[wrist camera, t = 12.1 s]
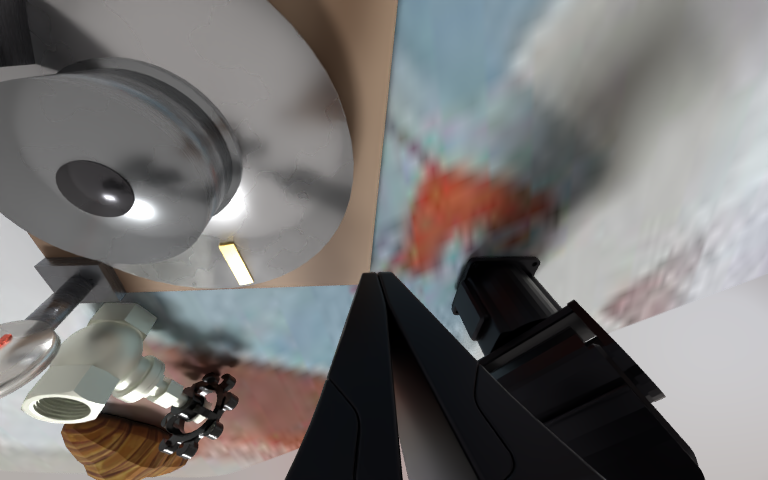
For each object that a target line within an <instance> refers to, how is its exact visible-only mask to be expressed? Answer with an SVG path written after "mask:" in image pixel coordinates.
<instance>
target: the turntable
mask: <svg viewBox="0 0 768 480" xmlns="http://www.w3.org/2000/svg"><path fill="white" fill-rule="evenodd" d="M108 57H120V58H130V59H135V60H140V61H144V62H147V63H150V64H153V65H156V66H159V67H161V68H164V69H166V70H168V71H170V72H172V73H174V74H176V75H178V76H179V77H181V78H183V79H185V80H186V81H187V82H189V83H190V84H192V85H193V86H194V87H196V88H197V89H198V90H200V91H201V92H202V93H203V94H204V95H205V96H207V97H208V98H209V99H210V100H211V101H212V102H213V104H214V105H215V106H216V107H217V108H218V109H219V110H220V112H221V113H222V114H223V115H224V117H225V118H226V120H227V121H228V123H229V124H230V126H231V128H232V129H233V131H234V133H235V136H236V138H237V140H238V143H239V146H240V149H241V154H242V160H243V173H242V179H241V183H240V186H239V188H238V190H237V192H236V194H235V196H234V197H233V199H232V200H231V202H230V203H229V204H228V205H227V206H226V207H225V208H224V210H222V211H221V212H220V213H218V214H217V215H215V216H213V217H212V218H211V220H210V221H209V223H208V224H207V226H206V227H205V229H204V231H203V232H202V234H201V235H200V237H199V238H198V240H197V241H196V242H195V243H194V244H193V245H192V246H191V247H190V248H188V249H187V250H186V251H184V252H183V253H181V254H179V255H177V256H175V257H173V258H170V259H167V260H164V261H159V262H155V263H148V264H117V263H109V262H103V261H100V262H102V263H105V264H107V265H109V266H111V267H113V268H116V269H119V270H122V271H124V272H127V273H130V274H132V275H135V276H139V277H142V278H146V279H149V280H153V281H157V282H162V283H166V284H171V285H176V286H184V287H193V288H210V289H218V288H235V287H243V286H250V285H254V284H258V283H262V282H266V281H269V280H272V279H275V278H278V277H281V276H283V275H285V274H287V273H289V272H291V271H293V270H295V269H297V268H298V267H300V266H301V265H303V264H305V263H306V262H308V261H309V260H310V259H311V258H312V257H314V256H315V255H316V254H317V253H318V252H319V251H320V250H321V249H322V248H323V247H324V246H325V245H326V244H327V243H328V242H329V240H330V239H331V238H332V236H333V235H334V233H335V232H336V230H337V229H338V227H339V225H340V223H341V221H342V219H343V217H344V215H345V212H346V209H347V206H348V203H349V200H350V195H351V190H352V184H353V166H354V161H353V151H352V142H351V137H350V133H349V129H348V124H347V120H346V116H345V112H344V110H343V107H342V104H341V101H340V99H339V96H338V93H337V91H336V89H335V87H334V85H333V83H332V81H331V79H330V77H329V75H328V73H327V71H326V69H325V68H324V66H323V65H322V63H321V61H320V60H319V58H318V57H317V55H316V54H315V52H314V51H313V49H312V48H311V46H310V45H309V44H308V43H307V41H306V40H305V39H304V38H303V37H302V35H301V34H300V33H299V32H298V30H297V29H296V28H295V27H294V26H293V24H292V23H291V22H290V21H289V20H288V19H287V18H286V17H285V16H283V15H282V14H281V13H280V12H279V11H278V10H277V9H276V8H275V7H274V6H273V5H272V4H271V3H270V2H269V1H268V0H0V82H2V81H7V80H12V79H19V78H27V77H35V76H43V75H50V74H56V73H57V72H59V71H60V70H62V69H63V68H65V67H66V66H68V65H71V64H73V63H76V62H78V61H83V60H87V59H94V58H108Z"/></svg>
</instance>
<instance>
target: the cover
mask: <svg viewBox="0 0 768 480" xmlns="http://www.w3.org/2000/svg"><path fill="white" fill-rule="evenodd" d="M242 173H243V160H242V154H241V149H240V146H239V143H238V140H237V138H236V136H235V133H234V131H233V129H232V128H231V126H230V124H229V123H228V121H227V120H226V118H225V117H224V115H223V114H222V113H221V112H220V110H219V109H218V108H217V107H216V106H215V105H214V104H213V102H212V101H211V100H210V99H209V98H208V97H207V96H205V95H204V94H203V93H202V92H201V91H200V90H198V89H197V88H196V87H194V86H193V85H192V84H190V83H189V82H187V81H186V80H185V79H183V78H181V77H179V76H178V75H176V74H174V73H172V72H170V71H168V70H166V69H164V68H161V67H159V66H156V65H153V64H150V63H147V62H144V61H140V60H135V59H130V58H120V57H108V58H94V59H87V60H83V61H78V62H76V63H73V64H71V65H68V66H66V67H65V68H63V69H62V70H60V71H59V72H57V73H56V74H50V75H43V76H35V77H27V78H19V79H12V80H7V81H2V82H0V212H1V213H2V214H3V215H4V216H5V217H7V218H8V219H9V220H11V221H12V222H13V223H15V224H16V225H18V226H19V227H20V228H22V229H24V230H25V231H27V232H28V233H30V234H32V235H33V236H35V237H37V238H39V239H41V240H43V241H45V242H47V243H49V244H51V245H53V246H55V247H58V248H60V249H62V250H65V251H68V252H70V253H73V254H76V255H79V256H82V257H86V258H90V259H94V260H98V261H103V262H109V263H117V264H148V263H155V262H159V261H164V260H167V259H170V258H173V257H175V256H177V255H179V254H181V253H183V252H184V251H186V250H187V249H188V248H190V247H191V246H192V245H193V244H194V243H195V242H196V241H197V240H198V238H199V237H200V235H201V234H202V232H203V231H204V229H205V227H206V226H207V224H208V223H209V221H210V220H211V218H212V217H213V216H215V215H217V214H218V213H220V212H221V211H222V210H224V208H225V207H226V206H227V205H228V204H229V203H230V202H231V200H232V199H233V197H234V196H235V194H236V192H237V190H238V188H239V186H240V183H241V179H242Z"/></svg>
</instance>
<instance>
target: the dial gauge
mask: <svg viewBox="0 0 768 480" xmlns="http://www.w3.org/2000/svg"><path fill="white" fill-rule="evenodd" d="M34 267H35V268H36V270H37V271H38V272H39V274H40V275H41V276H42V277H43V279H44V280H45V281H46V283H47V284H48V285H49V287H50V288H51V289H52V290H53V292H54V293H53V294H52V295H51V296H50V297H49V298H48V299H47V300H46V301H45V302H44V303H42V304H41V305H40V306H39V307H38V308H37V309H36V310H35V311H34V312H33V313H32V314H31V315H30V316H28V317H27V318H26V319H25V320H21V321H14V322H9V323H4V324H0V398H3V397H5V396H7V395H8V394H10V393H12V392H14V391H16V390H17V389H19V388H21V387H22V386H24V385H25V384H27V383H28V382H30V381H31V380H32V379H34V378H35V377H36V376H37V375H39V374H40V373H41V372H42V371H43V370H44V369H45V368H46V367H47V366H48V365H49V364H50V363H51V362H52V361H53V359H54V358H55V357H56V355H57V353H58V351H59V349H60V345H61V340H60V338H59V336H58V335H57V334H56V333H55V331H54V330H55V329H56V328H57V327H58V325H59V324H60V323H61V322H62V321H63V320H64V319H65V318H66V317H67V316H68V315H69V314H70V313H71V312H72V311H73V309H74V308H75V307H76V306H77V305H78V304H79V303H99V302H120V301H121V299H122V298H123V297H124V296H125V294H126V293H127V292H126V290H125V288H124V286H123V285H122V283H121V281H120V279H119V278H118V276H117V274H116V272H115V271H114V269H113V267H111V266H109V265H107V264H105V263H102V262H100V261H98V260H94V259H90V258H86V257H47V258H44V259H43V260H42V261H41V262H39V263H38V264H37V265H35V266H34Z"/></svg>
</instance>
